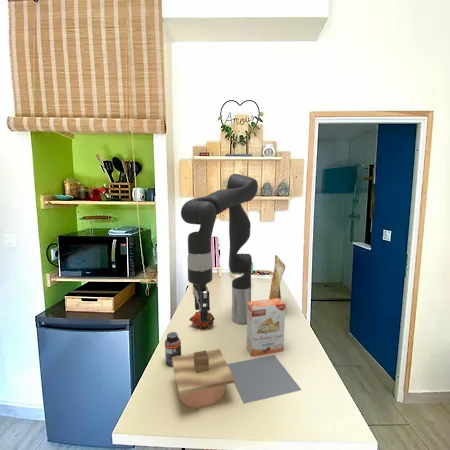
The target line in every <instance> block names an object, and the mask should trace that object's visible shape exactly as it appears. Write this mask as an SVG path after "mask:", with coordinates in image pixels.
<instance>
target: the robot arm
mask: <svg viewBox="0 0 450 450" xmlns="http://www.w3.org/2000/svg"><path fill="white" fill-rule="evenodd" d="M258 190H259V183H258V181H257V180H256V179H255V178H253V177H250V176H247V175H243V174H238V173H232V174H231V175H230V176H229V177H228V179H227V184H226V188H223V189H218V190H215V191H214V192H212V193H209V194H208V195H205V196H201V197H197V198H196V197H195V198H192V199H190V200H189V199H188V200H187V201H186V202H185V203H184V204H183V205H182V206H181V209H180V216H181V219H182V220H183V221H184V222H185V223H186V224H190V225H199V230H198V231H193V232H190V233H188V236H187V281H188V282H189V283H191V284H192V295H193V299H194V309H195V311H200V321H201V322H207V321H208V312H210V311H211V307H210V305H211V304H210V291H209V288H208V287H207V285H208V284H209V283H211V282H212V281H213V257H212V236H213V235H212V234H213V231H214V227H215V223H216V219H217V215H220V214H221V213H224V211H227V209H228V217H229V218H228V234H229V237H228V238H229V252H228V253H229V255H228V268H229V271H230V273H232V274H242V275H240V276H237V277H236V278H234V279H233V280H232V281H231V320H232V322H233V323H234V324H239V325H244V324H246V325H247V302H252V268H253V267H252V266H253V265H252V264H253V259H252V255H251V253H250V254H249V253H239V251H240V249H241V248H242V247H243V246H244V245H245V244H247V242H248V240H249V239H250V237H251V220H250V218H249V216H248V214H247V212H245V209H244V207H243V206H242V204H244V203H247V202H251V201H252V200H253V199H255V197H256V195H257V193H258ZM204 304H205V305H204Z"/></svg>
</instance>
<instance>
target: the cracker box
mask: <svg viewBox="0 0 450 450" xmlns="http://www.w3.org/2000/svg"><path fill="white" fill-rule="evenodd" d="M285 319H286V303H284V301H283V300H282V299H281V300H280V299H279V298H277V299H269V298H268V299H260V300H253V301H252V300H251V302H247V323H246V350H247V351H246V352H248V354H249V356H250V357H251V358H252V357H257V356H259V357H260V356H263V355H268V354H274V353H280V352H284V349H285V348H284V347H285V346H284V343H285V324H286V323H285V321H286V320H285Z"/></svg>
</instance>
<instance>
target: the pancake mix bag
mask: <svg viewBox="0 0 450 450" xmlns="http://www.w3.org/2000/svg"><path fill="white" fill-rule="evenodd" d="M285 269H286V265H285V263H284V262H283V261H282V260H281V258H280V257H279V256H278V255H277V254H274V267H273V274H272V279H271V285H270V290H269V291H270V292H269V296H268V300H269V299H277V298H279V299H280V300H281V301H282V295H281V280H282V278H283V275H284V272H285Z"/></svg>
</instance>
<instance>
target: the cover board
mask: <svg viewBox="0 0 450 450" xmlns="http://www.w3.org/2000/svg"><path fill="white" fill-rule="evenodd" d="M172 363H173V366H172V368H173V372H174V373H173V374H174V377H175V383H176V388H177V393H178V396H179V395H181V394H186V393H190V392H195V391H200V390H204V389H209V388H214V387H218V386H223V385H225V386H227V385H231V384H234V383H235V379H234V377H233V375H232V373H231V371H230V369H229V367H228V365H227V364H228V363H227V360H226V359H225V357H224V355H223V353H222V350H221V349H220V348H216V349H210V350H199V351H195V352H193V353H188V354H183V355H182V354H181V356H176V357H172Z"/></svg>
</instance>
